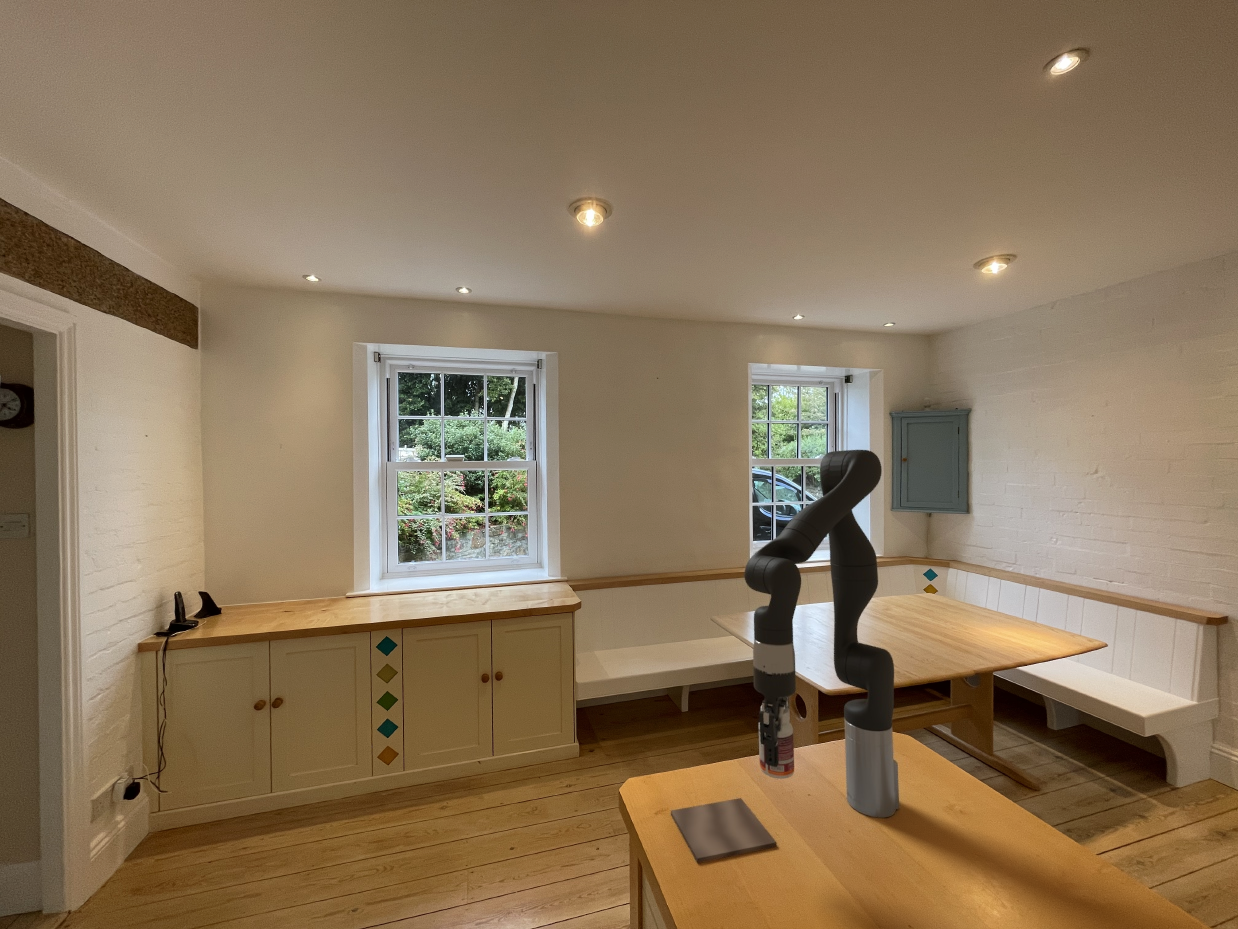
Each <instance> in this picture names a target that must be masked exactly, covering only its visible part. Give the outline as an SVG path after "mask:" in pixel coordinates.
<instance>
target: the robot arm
mask: <svg viewBox="0 0 1238 929" xmlns="http://www.w3.org/2000/svg"><path fill="white" fill-rule="evenodd" d="M881 463H882V462H881V461H880V458H879V456H877V454H876V453H875V452H874V451H871V450H868V449H850V450H849V449H848V450H847V449H846V450H834V451H829V452H827V453H825V454H824V456H823V457H822V459H821V461H820V465H819V479H820V481H819V482H820V487H821V492H822V496H821V497H819V498H818V499H817V500H815V501H813V502H811V503H810V504H809V505H807V506H805V507H804V508H802V509H801V510H800V511H798V512H797V513H796V514H795V515H794V516H793V517H792V519H791V520H790V521H789V522H788V523H787V525H786V526H785V527H784V528H783V529H782V531H781V532H780V534H779V535H778V536H777V537H775V538H774V539H772V540H770V541H769V542H768V543H766V544H765V545H763V546H762V547H761V548H760V549H758V550H757V551H755V553H754V554H753V555H751V557H750V558H749V559H748V561H747V563H746V565H745V569H744V572H743V573H744V580H745V583H746V585H747V586H748V587H749V589H751V590H752V591H755V592H758V593H761V594H762V593H763V594H767V595H770V600H769V604H768V605H761V606H759V607H757V608H756V609H755V611H754V614H753V648H752V656H753V657H752V662H753V668H752V669H753V687H754V689H755V690H756V692H758V693H759V694H761V695H762V696H764V700H762V702H761V706H762V711H761V710H759V712H758V719H759V722H760V742H761V744H763V745H765V763H766V764H767V765H770V766H774V767H777V766H778V764H779V759H778V744H779V741H778V740H779V732H781V731H782V716H783V715H784V713H785V708H787V707H788V709H789V710H790V697H791V696H792V695H794V694H795V693H796V690H797V686H796V684H797V680H796V678H797V677H796V675H797V674H796V653H795V646H794V626H793V625H794V623H793V619H794V615H795V612H796V609H797V604H798V600H799V596H800V592H801V588H802V576H801V571H800V569H799V566H798V565H797V564H803V563H805V562H807V561H808V560H809V559H810V558H811V557H812V555H813V554H814V553H815V552H816V551H817V549H818V548H819V546H820V545H821V544H822V542H824V539H825V538H826V537H827V535H828V542H829V543H828V544H829V566H830V576H831V585H832V586H831V587H832V595H833V596H832V598H833V615H834V616H833V618H834V620H833V622H834V623H833V625H834V626H833V628H834V629H833V666H834V672H835V674H836V676H837V679H838V680H839V681H840V682H842V683H843V684H845V685H848V686H852V687H855V688H859V689H861V690H864V691H867V698H860V699H859V698H858V699H856V698H855V699H852V700H850V701H849V700H848V701H847V702H846V703H845V704H844V707H843V713H844V714H843V715H844V716H843V718H844V745H845V746H844V749H845V751H844V752H845V776H846V777H845V783H846V800H847V801H846V802H847V803H848V804H849V806H851V808H853V809H854V810H856V811H857V812H859V813H861V814H863V815H865V816H868V817H872V818H879V819H880V818H888V817H892V816H893V815H894V814H895V812H896V811H897V810H900V790H899V789H900V788H899V764H898V762H897V761H896V760H895V758H894V737H893V714H894V704H895V700H894V699H895V698H894V696H895V692H894V691H895V690H894V689H895V664H894V659H893V656H892V655H891V653H890V652H889V651H888V650H887V649H885V648H883V647H878V646H874V645H871V644H867V643H862V642H859V640H858V624H859V620H860V618H861V616H862V614H863V612H864V611H865V609H866V607H867V606H868V604H869V603H870V601H871V600H872V598H873V596H874V595H875V594H876V592H877V588H878V587H879V586H878V585H879V572H878V561H877V554H876V551H875V549H874V546H873V544H872V543H871V541H870V540H869V537H868V536H867V535H866V534H865V532H864V531H863V529H862V528H861V526H860V525H859V523H858V521H857V520H856V518H855V517H856V516H855V515H854V513H853V509H855V508H856V507H857V506H858V505H859V503H861V502H862V501H863V500H864V499H865V498H866V497H868V496H869V494H870V493H872V492H873V491H874V490H875V488H876V487H877V486H878V485H879V482H880V481H881V476H882V472H883V471H882V464H881ZM778 715H779V720H778ZM777 721H778V725H777V726H775V722H777ZM759 722H758V723H759ZM768 734H771V737H768ZM896 809H897V810H896Z"/></svg>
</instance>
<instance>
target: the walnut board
mask: <svg viewBox="0 0 1238 929" xmlns="http://www.w3.org/2000/svg"><path fill="white" fill-rule="evenodd" d="M670 816H671V818H672V820H673V821H674V823H675V825H676V827H677V828H678V831H679V833H680V834H681V836H682V837H683V838H682V839H683V840H684V841H685V843H686V845H687V847H688V848H689V851H690V852H691V854H692V855H693V858H694V859H695V862H696V863H697V864H700V863H704V862H708V861H713V860H717V859H724V858H729V857H732V856H738V855H743V854H747V853H753V852H757V850H758V851H761V850H762V851H763V850H766V849H767V850H768V849H771V848H777V844H778V843H777V841H776V840H775V837H773V836H772V835H771V833H770V832H769V831H768V830H767V828H766V827H765V826H764V825H763V823H762V822H761V821H760V820H759V819H758V817H757V816H756V815H755V814H754V813H753V811H752V810H751V809H750V807H749V806H748V805H747V804H746V803H745V801H744V800H743V798H742V797H740V798H738V797H737V798H734V799H729V800H728V799H726V800H723V801H717V802H711V803H706V804H705V803H704V804H701V805H694V806H689V807H688V806H687V807H682V808H677V809H672V810H670Z"/></svg>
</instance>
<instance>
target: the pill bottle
mask: <svg viewBox="0 0 1238 929" xmlns="http://www.w3.org/2000/svg"><path fill="white" fill-rule="evenodd" d="M760 711H762V705H761V706H760ZM790 713H791V712H790V708H789V709H788V707H787V708H785V713H784V715H783V716H782V731H781V732H779V740H778V741H779V744H778V759H779V764H778V766H777V767H774V766H770V765H767V764H766V763H765V745H763V744H761V742H760V722H758V749H759V751H758V753H759V754H758V755H759V768H760V770H761V771H762V773H763V774H764V775H766V776H768V777H769V778H773V779H777V780H778V779H780V780H782V779H788V778H791V777H792V776H793V775H794V773H795V750H794V748H795V747H794V744H795V743H794V728H793V725H792V723H791V722H790V720H791V718H790ZM778 720H779V715H778ZM777 725H778V721H777V722H775V726H777ZM768 737H771V734H768Z"/></svg>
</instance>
